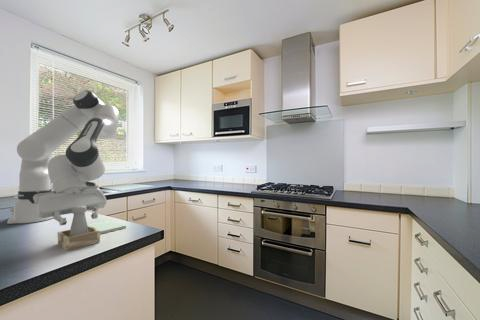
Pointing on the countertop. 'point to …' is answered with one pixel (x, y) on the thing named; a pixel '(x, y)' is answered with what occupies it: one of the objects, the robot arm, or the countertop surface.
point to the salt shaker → (78, 221)
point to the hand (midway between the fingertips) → (80, 220)
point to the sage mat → (107, 226)
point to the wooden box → (78, 239)
